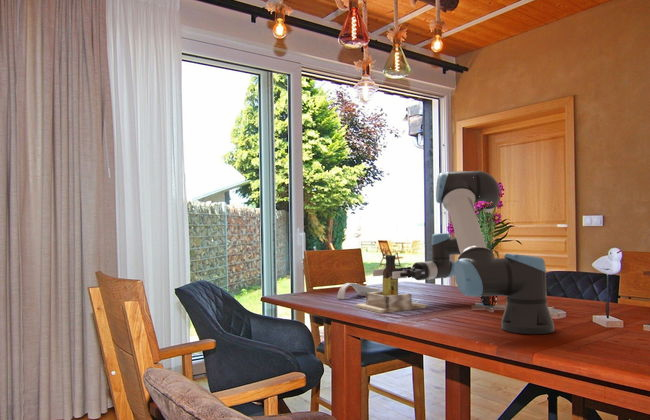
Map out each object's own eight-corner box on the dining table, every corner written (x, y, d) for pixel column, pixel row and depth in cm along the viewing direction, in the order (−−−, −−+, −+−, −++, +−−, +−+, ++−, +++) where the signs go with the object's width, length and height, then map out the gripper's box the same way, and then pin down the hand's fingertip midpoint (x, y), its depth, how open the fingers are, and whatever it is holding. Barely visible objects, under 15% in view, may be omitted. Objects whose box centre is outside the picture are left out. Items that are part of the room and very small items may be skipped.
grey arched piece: (366, 293, 247) (366, 278, 247) (384, 295, 238) (384, 280, 238) (332, 298, 231) (331, 283, 231) (349, 301, 222) (349, 285, 222)
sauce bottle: (393, 305, 196) (392, 255, 198) (379, 304, 200) (379, 255, 201) (401, 303, 202) (400, 255, 203) (387, 302, 205) (387, 254, 207)
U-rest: (380, 313, 188) (380, 298, 188) (355, 307, 204) (355, 293, 204) (425, 307, 198) (425, 293, 198) (398, 302, 214) (398, 288, 214)
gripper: (444, 282, 199) (401, 286, 189) (405, 277, 221) (366, 280, 211) (443, 263, 199) (401, 266, 189) (405, 260, 221) (365, 263, 211)
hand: (382, 274), depth 200 cm, fingers open, 13 cm apart
